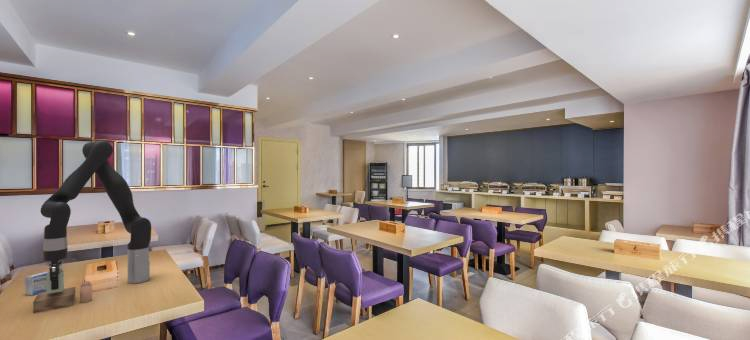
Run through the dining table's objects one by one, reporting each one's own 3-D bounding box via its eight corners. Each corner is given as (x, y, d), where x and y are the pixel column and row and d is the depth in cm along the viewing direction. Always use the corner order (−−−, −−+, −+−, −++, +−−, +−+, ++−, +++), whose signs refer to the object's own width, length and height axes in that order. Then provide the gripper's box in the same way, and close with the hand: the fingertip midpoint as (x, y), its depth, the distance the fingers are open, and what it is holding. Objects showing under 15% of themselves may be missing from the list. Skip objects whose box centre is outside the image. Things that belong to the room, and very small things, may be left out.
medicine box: (32, 295, 153) (32, 277, 153) (24, 295, 154) (24, 276, 154) (51, 289, 161) (51, 271, 161) (44, 289, 162) (44, 271, 162)
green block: (63, 288, 146) (63, 269, 146) (62, 291, 142) (62, 272, 142) (48, 290, 143) (48, 272, 143) (46, 293, 139) (46, 274, 139)
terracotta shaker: (92, 298, 150) (92, 279, 150) (91, 301, 146) (91, 281, 146) (80, 300, 147) (80, 280, 147) (79, 303, 144) (79, 283, 144)
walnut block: (75, 297, 151) (75, 287, 151) (73, 306, 142) (73, 294, 142) (38, 304, 144) (38, 293, 144) (33, 314, 134) (33, 301, 134)
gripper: (65, 249, 140) (65, 290, 140) (68, 243, 151) (69, 281, 151) (40, 252, 135) (40, 294, 135) (45, 246, 146) (45, 285, 146)
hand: (55, 287), depth 143 cm, fingers closed on green block, 5 cm apart
